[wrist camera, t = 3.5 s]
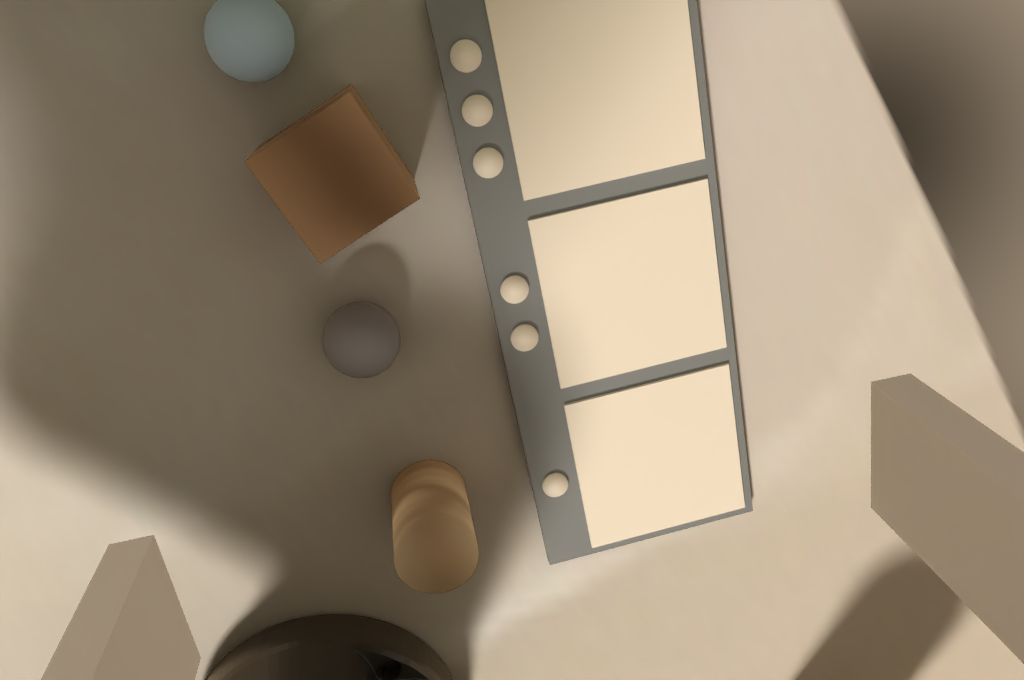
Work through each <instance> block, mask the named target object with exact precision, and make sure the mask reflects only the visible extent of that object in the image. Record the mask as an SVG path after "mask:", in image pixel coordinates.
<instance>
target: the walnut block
mask: <svg viewBox="0 0 1024 680" xmlns="http://www.w3.org/2000/svg"><path fill="white" fill-rule="evenodd" d="M245 163H246V165H247V166H248V167H249V169H250V170H251V171H252V173H253V174H254V176H255V177H256V178H257V180H258V181H259V182H260V184H261V185H262V186H263V188H264V189H265V190H266V192H267V193H268V194H269V196H270V197H271V198H272V200H273V201H274V202H275V204H276V205H277V206H278V208H279V209H280V211H281V212H282V213H283V215H284V216H285V217H286V219H287V220H288V221H289V223H290V224H291V225H292V227H293V228H294V229H295V231H296V232H297V233H298V235H299V236H300V237H301V239H302V240H303V241H304V243H305V244H306V245H307V247H308V248H309V250H310V251H311V252H312V254H313V255H314V256H315V258H316V259H317V260H318V262H319V263H322V262H323V261H325V260H326V259H328V258H330V257H331V256H333V255H334V254H336V253H337V252H339V251H340V250H342V249H343V248H345V247H346V246H348V245H349V244H351V243H353V242H354V241H356V240H357V239H359V238H360V237H362V236H363V235H365V234H366V233H368V232H369V231H371V230H372V229H374V228H376V227H377V226H379V225H380V224H382V223H383V222H385V221H386V220H388V219H389V218H391V217H392V216H394V215H396V214H397V213H399V212H400V211H402V210H403V209H405V208H406V207H408V206H409V205H411V204H412V203H414V202H415V201H417V200H419V199H420V197H419V194H418V191H417V187H416V184H415V180H414V178H413V177H412V175H411V174H410V172H409V170H408V169H407V167H406V166H405V164H404V163H403V161H402V160H401V158H400V157H399V155H398V154H397V152H396V151H395V149H394V148H393V146H392V145H391V143H390V142H389V140H388V139H387V137H386V136H385V134H384V133H383V131H382V130H381V128H380V127H379V125H378V124H377V122H376V121H375V119H374V118H373V116H372V115H371V113H370V112H369V110H368V109H367V107H366V106H365V104H364V103H363V101H362V100H361V98H360V97H359V95H358V94H357V92H356V91H355V89H354V88H353V86H352V85H351V86H349V87H348V88H346V89H345V90H343V91H342V92H340V93H339V94H337V95H336V96H334V97H333V98H331V99H330V100H328V101H327V102H325V103H323V104H322V105H320V106H319V107H317V108H316V109H314V110H313V111H311V112H310V113H308V114H307V115H305V116H304V117H302V118H301V119H299V120H298V121H296V122H295V123H293V124H292V125H290V126H289V127H287V128H286V129H284V130H283V131H281V132H280V133H278V134H277V135H275V136H274V137H272V138H271V139H269V140H268V141H266V142H265V143H263V144H262V145H260V146H259V147H258V148H257V149H256V150H255V151H254V153H253V154H252V155H251V156H250V157H249V158H248V159H247V160H246V161H245Z"/></svg>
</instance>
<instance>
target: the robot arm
mask: <svg viewBox="0 0 1024 680" xmlns="http://www.w3.org/2000/svg"><path fill="white" fill-rule="evenodd" d="M871 508H872V509H873V510H874V511H875V512H876V513H877V514H878V515H879V516H880V517H881V518H882V519H883V520H884V521H885V522H886V523H887V524H888V525H889V526H890V527H891V528H892V529H893V530H894V531H895V532H896V533H897V534H898V535H899V537H900V538H901V539H902V540H903V541H904V542H905V543H906V544H907V545H908V546H909V547H910V548H911V549H912V550H913V551H914V552H915V553H916V554H917V555H918V556H919V557H920V558H921V559H922V560H923V561H924V562H925V563H926V564H927V565H928V566H929V567H930V568H931V569H932V570H933V571H934V572H935V573H936V574H937V575H938V576H939V577H940V579H941V580H942V581H943V582H944V583H945V584H946V585H947V586H948V587H949V588H950V589H951V590H952V591H953V592H954V593H955V594H956V595H957V596H958V597H959V598H960V599H961V600H962V601H963V602H964V603H965V604H966V605H967V606H968V607H969V608H970V609H971V610H972V611H973V612H974V613H975V614H976V615H977V616H978V617H979V618H980V619H981V621H982V622H983V623H984V624H985V625H986V626H987V627H988V628H989V629H990V630H991V631H992V632H993V633H994V634H995V635H996V636H997V637H998V638H999V639H1000V640H1001V641H1002V642H1003V643H1004V644H1005V645H1006V646H1007V647H1008V648H1009V649H1010V650H1011V651H1012V652H1013V653H1014V654H1015V655H1016V656H1017V657H1018V658H1019V659H1020V660H1021V661H1022V663H1023V664H1024V452H1022V451H1021V450H1020V449H1018V448H1017V447H1015V446H1014V445H1012V444H1011V443H1009V442H1008V441H1007V440H1005V439H1004V438H1002V437H1001V436H999V435H998V434H997V433H995V432H994V431H992V430H991V429H989V428H988V427H986V426H985V425H984V424H982V423H981V422H979V421H978V420H976V419H975V418H973V417H972V416H971V415H969V414H968V413H966V412H965V411H963V410H962V409H961V408H959V407H958V406H956V405H955V404H953V403H952V402H950V401H949V400H948V399H946V398H945V397H943V396H942V395H940V394H939V393H938V392H936V391H935V390H933V389H932V388H930V387H929V386H927V385H926V384H925V383H923V382H922V381H920V380H919V379H917V378H916V377H915V376H913V375H912V374H906V375H902V376H897V377H892V378H888V379H883V380H878V381H873V382H871ZM200 658H201V657H200V655H199V652H198V649H197V647H196V644H195V642H194V639H193V636H192V634H191V631H190V629H189V626H188V623H187V621H186V618H185V615H184V613H183V610H182V608H181V605H180V602H179V600H178V597H177V595H176V592H175V589H174V587H173V584H172V581H171V579H170V576H169V574H168V571H167V568H166V566H165V563H164V561H163V558H162V555H161V553H160V550H159V547H158V545H157V542H156V540H155V537H154V535H152V536H147V537H142V538H138V539H133V540H128V541H124V542H119V543H114V544H109V546H108V548H107V550H106V552H105V554H104V556H103V558H102V560H101V562H100V564H99V566H98V568H97V570H96V572H95V574H94V575H93V577H92V579H91V581H90V583H89V585H88V587H87V589H86V591H85V593H84V595H83V597H82V599H81V601H80V603H79V605H78V607H77V609H76V611H75V613H74V615H73V617H72V619H71V621H70V623H69V625H68V627H67V629H66V631H65V633H64V635H63V637H62V639H61V641H60V643H59V645H58V647H57V649H56V651H55V653H54V655H53V657H52V659H51V661H50V663H49V665H48V667H47V669H46V671H45V673H44V675H43V677H42V679H41V680H195V676H196V673H197V669H198V666H199V662H200ZM207 680H453V679H452V677H451V675H450V673H449V671H448V669H447V668H446V666H445V665H444V663H443V662H442V660H441V659H440V658H439V657H438V656H437V654H436V653H435V652H434V651H433V650H432V649H431V648H430V647H428V646H427V645H426V644H425V643H424V642H422V641H421V640H420V639H418V638H417V637H415V636H413V635H412V634H410V633H408V632H407V631H405V630H403V629H401V628H398V627H396V626H394V625H391V624H388V623H385V622H382V621H379V620H375V619H370V618H365V617H359V616H350V615H322V616H313V617H307V618H301V619H297V620H293V621H289V622H286V623H282V624H280V625H277V626H274V627H272V628H269V629H267V630H265V631H263V632H261V633H259V634H257V635H255V636H253V637H251V638H250V639H248V640H246V641H245V642H243V643H242V644H241V645H239V646H238V647H236V648H235V649H234V650H233V651H232V652H230V653H229V654H228V655H227V656H226V657H225V658H224V659H223V660H222V661H221V662H220V663H219V664H218V665H217V666H216V668H215V669H214V670H213V672H212V673H211V674H210V676H209V677H208V679H207Z"/></svg>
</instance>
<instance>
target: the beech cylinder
mask: <svg viewBox="0 0 1024 680" xmlns="http://www.w3.org/2000/svg"><path fill="white" fill-rule="evenodd" d="M391 506H392V527H393V548H394V565H395V569H396V572H397V574H398V576H399V577H400V579H401V580H402V581H403V582H404V583H405V584H406V585H407V586H409V587H410V588H412V589H414V590H417V591H419V592H423V593H430V594H437V593H444V592H448V591H451V590H453V589H455V588H457V587H459V586H461V585H462V584H463V583H465V582H466V581H467V580H468V579H469V578H470V577H471V575H472V574H473V573H474V571H475V569H476V567H477V564H478V560H479V550H478V545H477V540H476V535H475V530H474V525H473V521H472V516H471V511H470V506H469V502H468V497H467V492H466V487H465V483H464V480H463V478H462V476H461V475H460V473H459V472H458V471H457V470H456V469H455V468H453V467H452V466H450V465H449V464H446V463H444V462H441V461H435V460H426V461H420V462H417V463H414V464H412V465H410V466H408V467H407V468H405V469H404V470H403V471H402V472H401V473H400V474H399V475H398V476H397V477H396V479H395V481H394V483H393V485H392V489H391Z"/></svg>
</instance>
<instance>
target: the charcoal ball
mask: <svg viewBox="0 0 1024 680" xmlns="http://www.w3.org/2000/svg"><path fill="white" fill-rule="evenodd" d="M323 347H324V351H325V354H326V356H327V358H328V360H329V361H330V363H331V364H332V365H333V366H334V367H335V368H336V369H337V370H338V371H340V372H342V373H343V374H345V375H348V376H351V377H355V378H368V377H372V376H375V375H378V374H380V373H381V372H383V371H384V370H386V369H387V368H388V367H389V366H390V365H391V364H392V363H393V361H394V360H395V358H396V356H397V354H398V351H399V347H400V334H399V329H398V327H397V324H396V322H395V320H394V319H393V317H392V316H391V315H390V314H389V313H388V312H387V311H386V310H385V309H383V308H382V307H380V306H378V305H375V304H372V303H368V302H355V303H351V304H347V305H345V306H343V307H341V308H340V309H338V310H337V311H336V312H335V313H334V314H333V315H332V316H331V317H330V319H329V320H328V322H327V324H326V326H325V329H324V333H323Z"/></svg>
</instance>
